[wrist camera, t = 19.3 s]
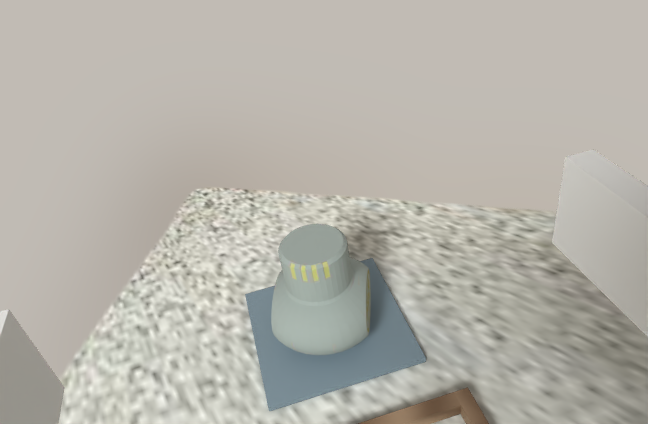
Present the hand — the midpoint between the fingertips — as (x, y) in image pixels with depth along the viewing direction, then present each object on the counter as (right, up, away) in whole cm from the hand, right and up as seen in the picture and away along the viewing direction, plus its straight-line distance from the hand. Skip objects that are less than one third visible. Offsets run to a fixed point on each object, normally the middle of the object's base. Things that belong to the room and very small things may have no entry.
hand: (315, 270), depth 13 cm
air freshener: (+1, -9, +38) cm, 39 cm away
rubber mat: (+1, -10, +38) cm, 39 cm away
